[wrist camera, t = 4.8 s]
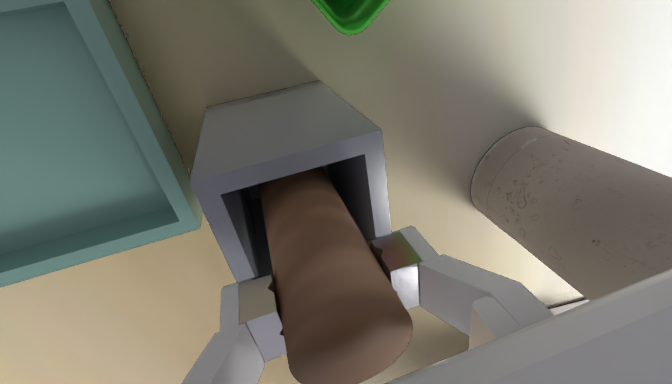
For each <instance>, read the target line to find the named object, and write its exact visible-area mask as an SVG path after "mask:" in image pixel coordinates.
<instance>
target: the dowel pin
mask: <svg viewBox="0 0 672 384" xmlns="http://www.w3.org/2000/svg"><path fill="white" fill-rule="evenodd" d="M258 185H259V191H260V197H261V203H262V209H263V215H264V221H265V227H266V233H267V239H268V245H269V251H270V257H271V262H272V268H273V274H274V279H275V285H276V291H277V298H278V304H279V309H280V315H281V321H282V328H283V334H284V340H285V346H286V352H287V358H288V364H289V368H290V372H291V373H292V375H293V377H294V378H295V379H296V380H297V381H299V382H300V383H302V384H358V383H360V382H363V381H365V380H367V379H369V378H371V377H373V376H375V375H377V374H378V373H380V372H382V371H383V370H385V369H386V368H387V367H389V366H390V365H391V364H392V363H393V362H394V361H395V360H396V359H397V358H398V357H399V356H400V355H401V354H402V353H403V351H404V350H405V348H406V347H407V345H408V343H409V341H410V338H411V335H412V329H413V325H412V320H411V317H410V315H409V313H408V312H407V310H406V308H405V307H404V305H403V303H402V302H401V300H400V298H399V296H398V295H397V293H396V291H395V290H394V288H393V286H392V285H391V283H390V281H389V279H388V278H387V276H386V274H385V273H384V271H383V269H382V268H381V266H380V264H379V262H378V261H377V259H376V257H375V256H374V254H373V252H372V251H371V249H370V247H369V245H368V244H367V242H366V240H365V239H364V237H363V235H362V234H361V232H360V230H359V228H358V227H357V225H356V223H355V222H354V220H353V218H352V217H351V215H350V213H349V211H348V210H347V208H346V206H345V205H344V203H343V201H342V200H341V198H340V196H339V194H338V193H337V191H336V189H335V188H334V186H333V184H332V183H331V181H330V179H329V177H328V176H327V174H326V172H325V171H324V169H323V167H322V166H320V167H316V168H313V169H309V170H306V171H302V172H299V173H295V174H292V175H288V176H284V177H281V178H277V179H274V180H270V181H267V182H263V183H260V184H258Z"/></svg>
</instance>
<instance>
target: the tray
mask: <svg viewBox="0 0 672 384" xmlns="http://www.w3.org/2000/svg"><path fill="white" fill-rule="evenodd" d="M202 212H203V210H202V208H201V206H200V204H199V201H198V199H197V197H196V195H195V193H194V191H193V189H192V187H191V184H190V176H189V174H188V171H187V169H186V167H185V165H184V163H183V161H182V158H181V156H180V154H179V152H178V150H177V148H176V145H175V143H174V141H173V139H172V137H171V135H170V133H169V130H168V128H167V126H166V124H165V122H164V120H163V117H162V115H161V113H160V111H159V109H158V107H157V105H156V102H155V100H154V98H153V96H152V94H151V92H150V89H149V87H148V85H147V83H146V81H145V79H144V77H143V74H142V72H141V70H140V68H139V66H138V64H137V61H136V59H135V57H134V55H133V53H132V51H131V49H130V46H129V44H128V42H127V40H126V38H125V36H124V33H123V31H122V29H121V27H120V25H119V23H118V21H117V18H116V16H115V14H114V12H113V10H112V8H111V5H110V3H109V1H108V0H0V287H3V286H7V285H10V284H13V283H17V282H20V281H24V280H27V279H30V278H34V277H37V276H41V275H44V274H47V273H51V272H54V271H57V270H61V269H64V268H68V267H71V266H74V265H78V264H81V263H85V262H88V261H91V260H95V259H98V258H102V257H105V256H108V255H112V254H115V253H119V252H122V251H125V250H129V249H132V248H136V247H139V246H142V245H146V244H149V243H153V242H156V241H159V240H163V239H166V238H169V237H173V236H176V235H180V234H183V233H186V232H190V231H193V230H197V229H200V228H201V220H202Z"/></svg>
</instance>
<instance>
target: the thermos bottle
mask: <svg viewBox="0 0 672 384" xmlns="http://www.w3.org/2000/svg"><path fill="white" fill-rule="evenodd" d="M471 197H472V200H473V203H474V205H475V207H476V208H477V209H478V210H479V211H480V212H481V213H482V214H484V215H485V216H486V217H487V218H488V219H490V220H491V221H492V222H493V223H494V224H495V225H497V226H498V227H499V228H500V229H502V230H503V231H504V232H506V233H507V234H508V235H509V236H511V237H512V238H513V239H515V240H516V241H517V242H518V243H520V244H521V245H522V246H523V247H524V248H526V249H527V250H528V251H529V252H530V253H532V254H533V255H534V256H535V257H536V258H538V259H539V260H540V261H541V262H543V263H544V264H545V265H546V266H548V267H549V268H550V269H551V270H552V271H554V272H555V273H556V274H557V275H559V276H560V277H561V278H562V279H564V280H565V281H566V282H567V283H568V284H570V285H571V286H572V287H573V288H575V289H576V290H577V291H578V292H580V293H581V294H582V295H583V296H584V297H586V298H587V299H588V300H589V301H592V300H594V299H597V298H599V297H602V296H604V295H607V294H609V293H612V292H614V291H617V290H619V289H622V288H624V287H627V286H629V285H632V284H634V283H637V282H639V281H642V280H644V279H647V278H649V277H652V276H654V275H657V274H659V273H662V272H664V271H667V270H669V269H672V178H671V177H668V176H665V175H663V174H660V173H658V172H655V171H652V170H650V169H647V168H645V167H642V166H640V165H637V164H634V163H632V162H629V161H627V160H624V159H621V158H619V157H616V156H614V155H611V154H608V153H606V152H603V151H601V150H598V149H595V148H593V147H590V146H588V145H585V144H582V143H580V142H577V141H575V140H572V139H569V138H567V137H564V136H562V135H559V134H556V133H554V132H551V131H548V130H546V129H543V128H539V127H526V128H521V129H518V130H516V131H513V132H511V133H509V134H507V135H506V136H504V137H503V138H501V139H500V140H499V141H498V142H496V143H495V144H494V145H493V146H492V147H491V148H490V149H489V150H488V151H487V152H486V154H485V155H484V157H483V158H482V159H481V161H480V162H479V164H478V166H477V168H476V170H475V173H474V176H473V179H472V184H471Z"/></svg>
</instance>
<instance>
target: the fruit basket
mask: <svg viewBox="0 0 672 384" xmlns="http://www.w3.org/2000/svg"><path fill="white" fill-rule="evenodd" d="M389 1H390V0H312V2H313V3H314V4H315V5H316V6H317V7H318V9H319V10H320V11H321V12H322V13H323V15H324V16H325V17H326V18H327V19H328V21H329V22H330V23H331V24H332V25H333V26H334V27H335V28H336V29H337V30H338V31H340V32H341V33H343V34H346V35H355V34H358V33H360V32H362V31H363V30H365V29H366V28H367V27H368V26H369V25H370V23H371V22H372V21H373V20H374V19H375V17H376V16H377V15H378V14H379V13H380V11H381V10H382V9H383V8H384V7H385V5H386V4H387V3H388V2H389Z"/></svg>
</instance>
